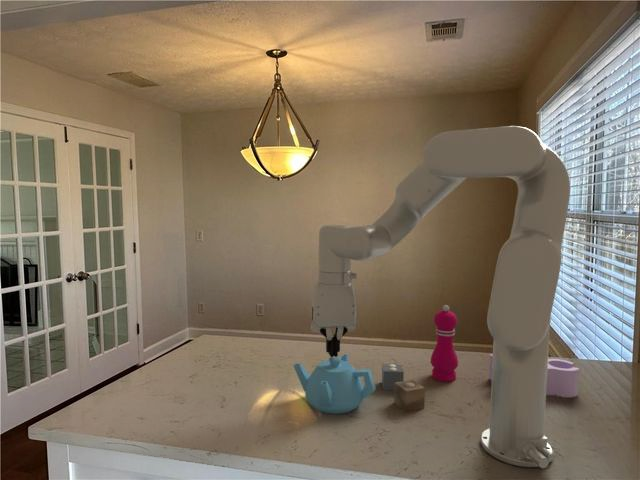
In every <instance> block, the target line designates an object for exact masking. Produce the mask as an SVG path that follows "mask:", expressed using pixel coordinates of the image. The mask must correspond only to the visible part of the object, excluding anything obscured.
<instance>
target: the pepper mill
mask: <svg viewBox="0 0 640 480" xmlns="http://www.w3.org/2000/svg"><path fill="white" fill-rule="evenodd" d="M433 323H434V325H435V326H436V328H435V334H436V336H437V338H436V339H437V342H436V345H435V347H434V349H433V351H432V354H431V357H430V364H431V366H432V371H431V375H432V377H433V379H434V380H437V381H440V382H453V381H455V380H456V378H457V372H456V369H457V367H458V366H459V359H458V356H457V353H456V350H455V348H454V342H453V339H454V336H455V334H456V333H455V332H456V330H455V327H456V326H457V325H458V318H457V315H456V314H455V313H454V312H452V311H450V306H449V305H447V304H445V305H443V306H442V310H439V311H437V312H436V313H435V315H434V318H433Z"/></svg>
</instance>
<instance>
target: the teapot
mask: <svg viewBox="0 0 640 480" xmlns="http://www.w3.org/2000/svg"><path fill="white" fill-rule="evenodd" d="M293 368H294V370H295V373H296V375H297V377H298V380H299V382H300V384H301V387H302V389H303V391H304V392H305V394H304V396H305V399H306V400H307V402H308V404H310V406H311V407H312V408H314V409H315V410H317V411H319V412H322V413H326V414H334V415H339V414H346V413H350V412H352V411H354V410H356V409H357V408H358V407H359V406H360V405H361V403H362V402H363V401H364V399H366V398H367V397H368V396H370V395H371V394H373V393H374V392H375V391H376V389H377V387H376V383H375V381H374V377H373V374H372V370H371V368H367V369H366V368H365V369H356V368H355V367H354V366H353V365H352V364H351V363H350V362H349V354H345V353H344V354H342V355H341V358H340V357H335V356H333V357H329V358H328V360H322V361H321V362H318V364H317V365H316V366H315V368H314V369H313V371H312V373H311V374H309V372H308V371H307V370H306V369H305V367H304V366H303V365H302V363H300V362H299V363H297V362H296V363H294V364H293ZM361 377H363V382H364V385H363V382H362V379H361ZM364 386H365V387H364Z"/></svg>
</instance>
